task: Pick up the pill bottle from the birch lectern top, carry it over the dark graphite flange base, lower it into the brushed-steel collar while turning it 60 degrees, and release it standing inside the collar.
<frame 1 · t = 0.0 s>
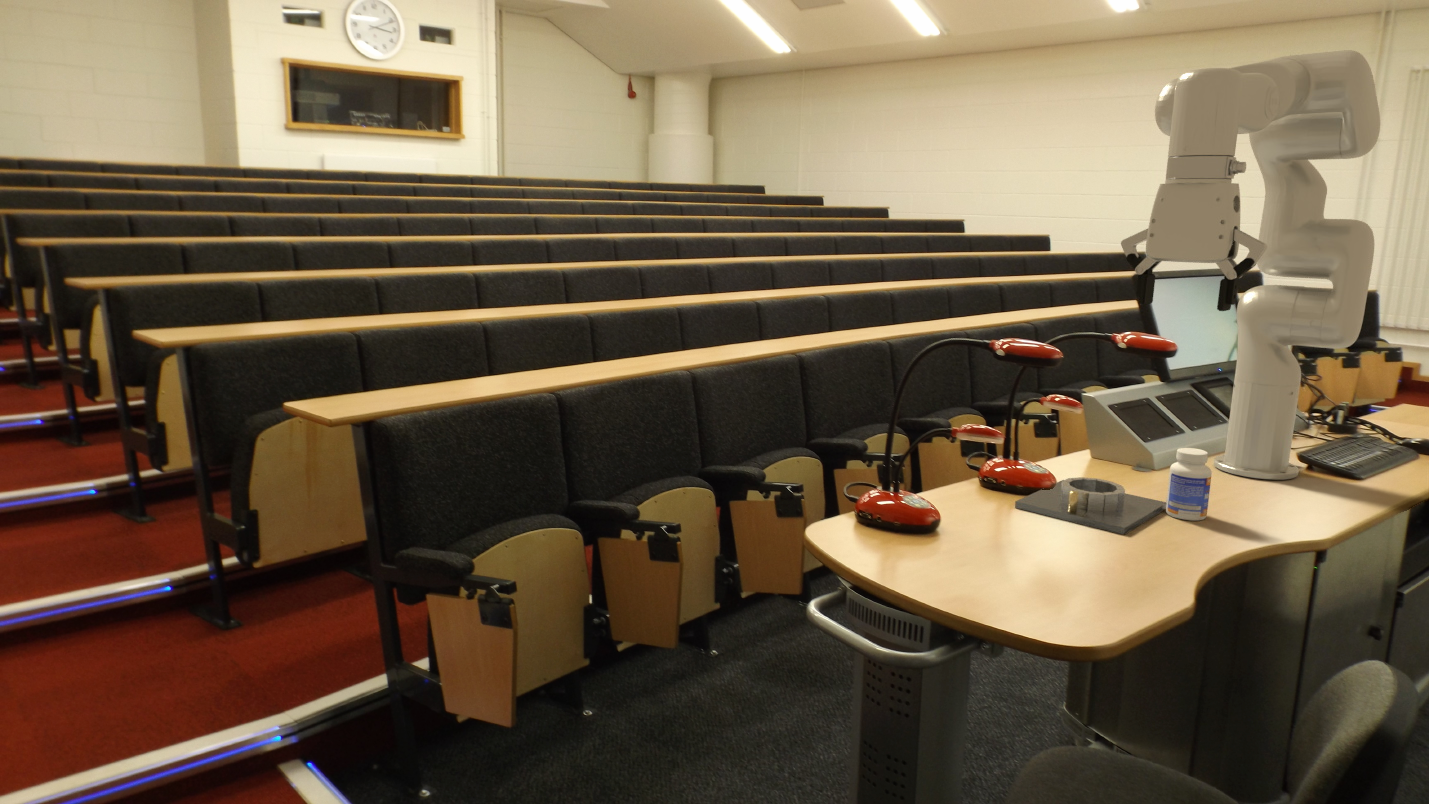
hand: (1183, 307, 120), 31 cm above the table, fingers open, 9 cm apart
flange base: (1090, 508, 136), on the table
pill bottle: (1185, 516, 134), on the table
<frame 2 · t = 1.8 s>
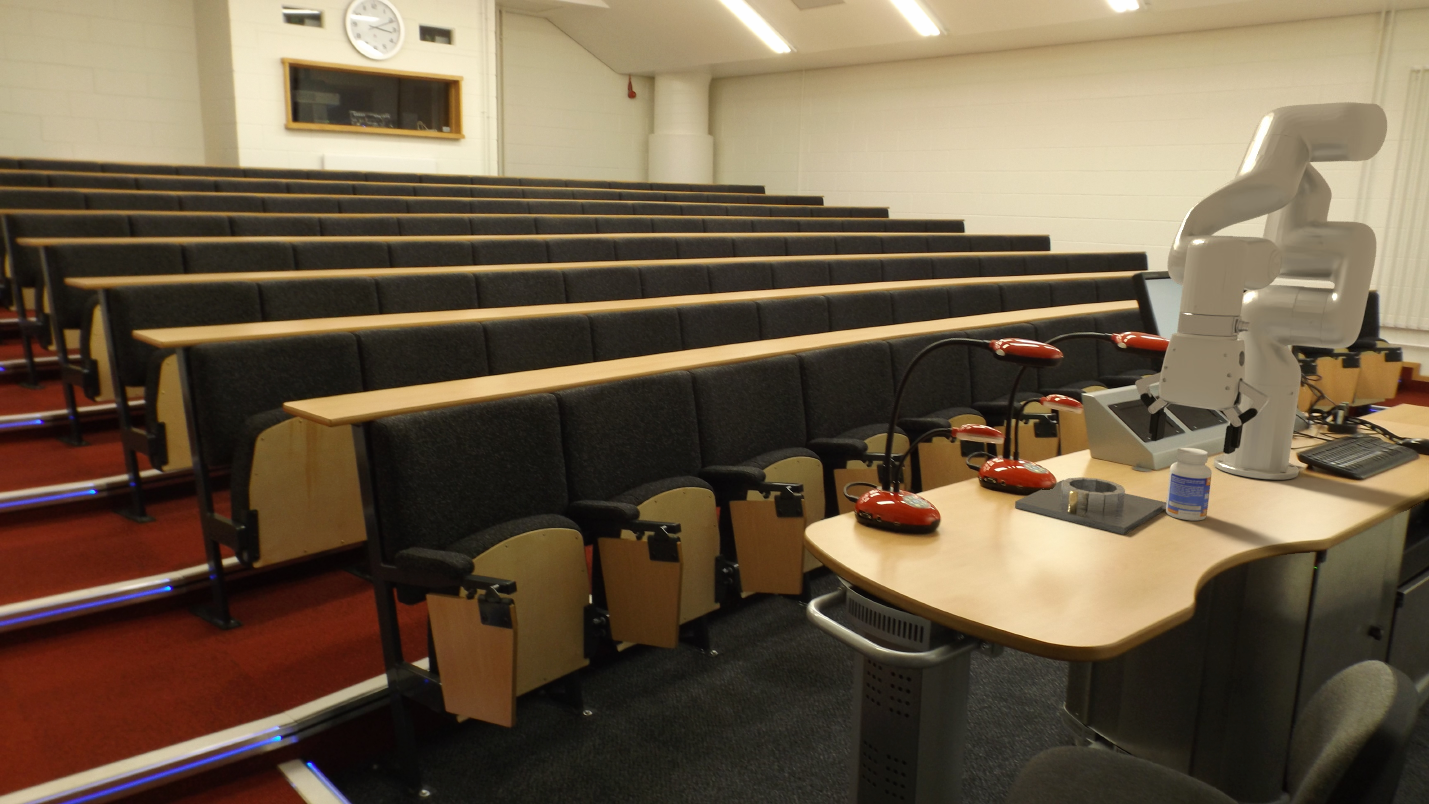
hand: (1192, 445, 131), 11 cm above the table, fingers open, 9 cm apart
nothing on the table moved.
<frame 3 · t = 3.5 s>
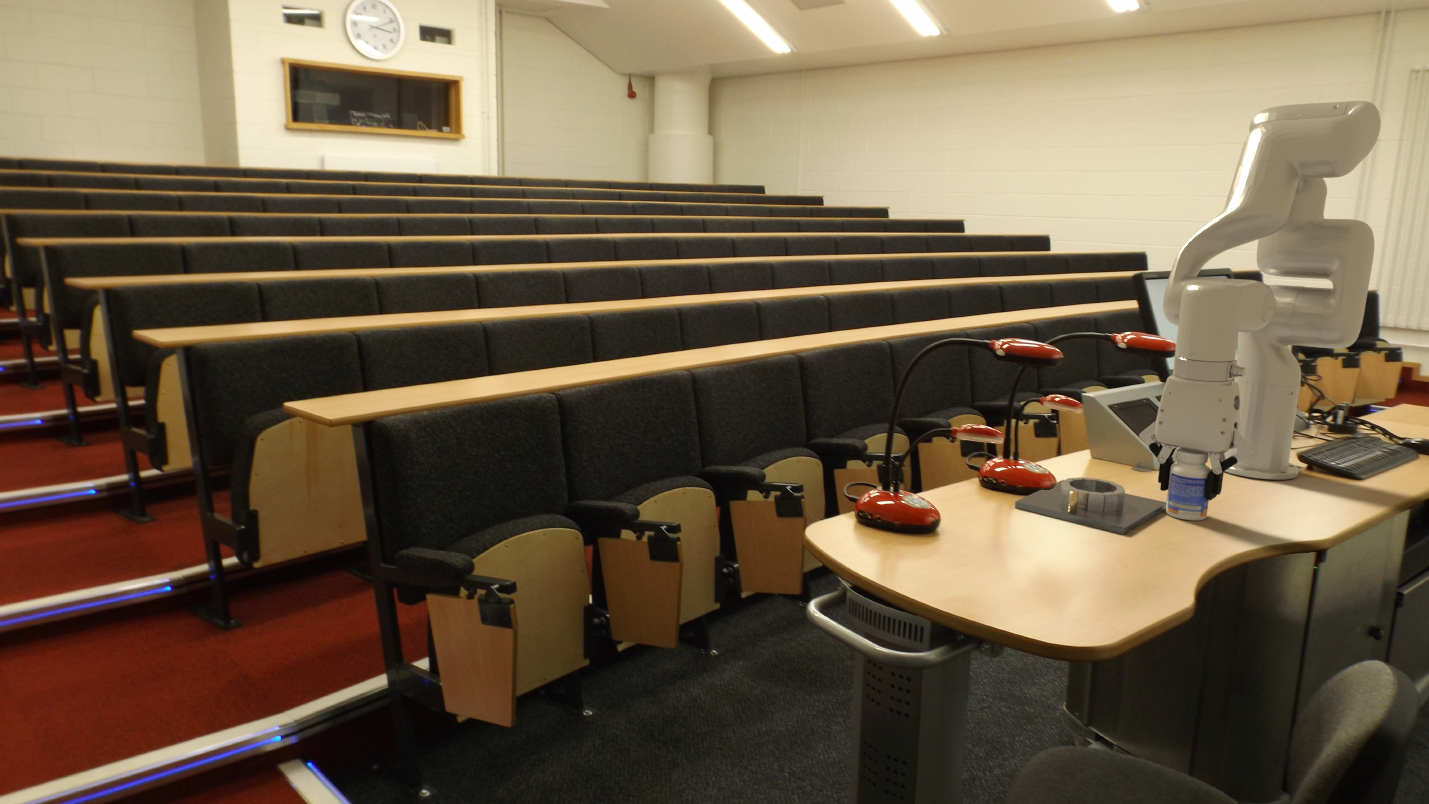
hand: (1188, 492, 133), 4 cm above the table, fingers closed on pill bottle, 5 cm apart
pill bottle: (1185, 516, 134), on the table, touching gripper
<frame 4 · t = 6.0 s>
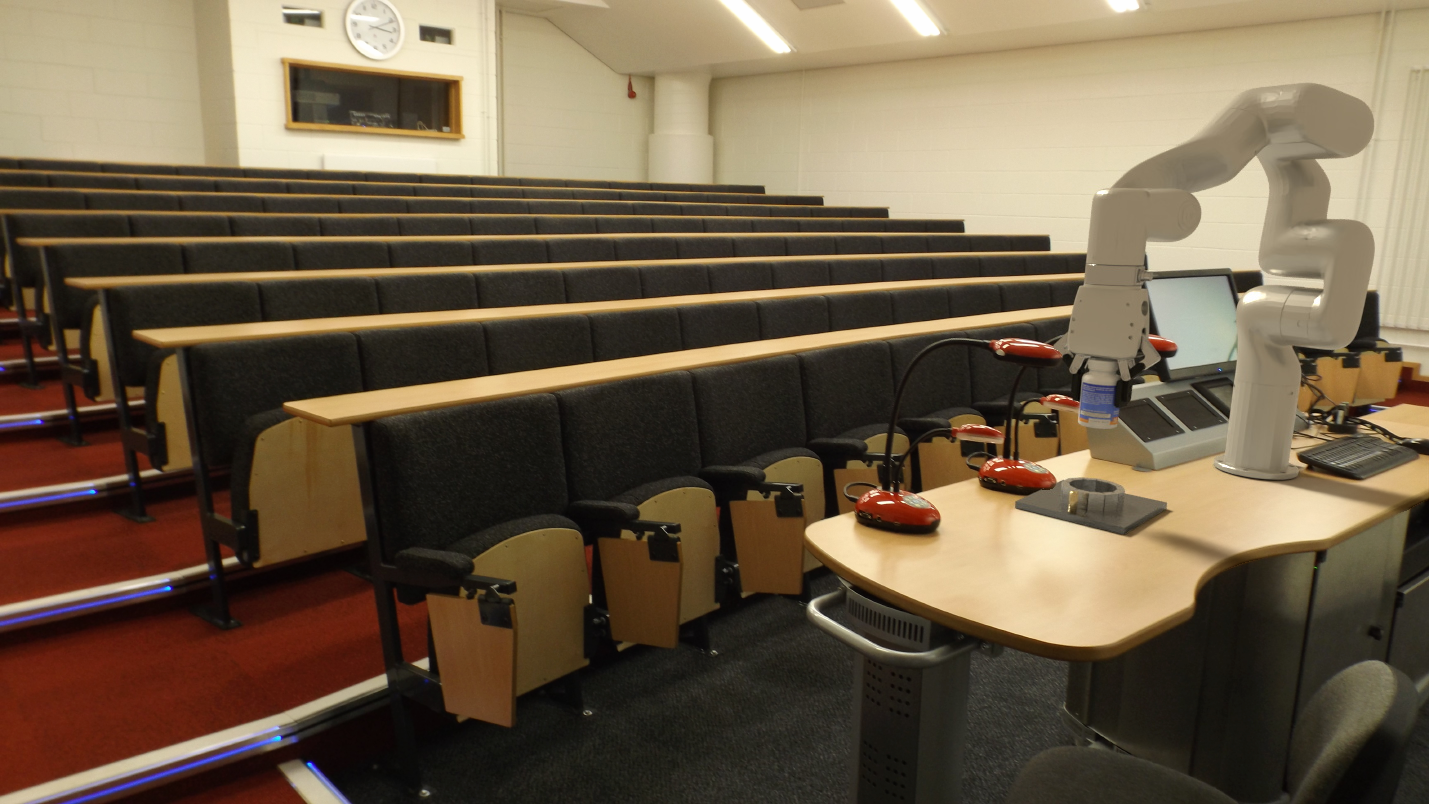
hand: (1099, 401, 133), 16 cm above the table, fingers closed on pill bottle, 5 cm apart
pill bottle: (1096, 426, 134), point 13 cm above the table, touching gripper
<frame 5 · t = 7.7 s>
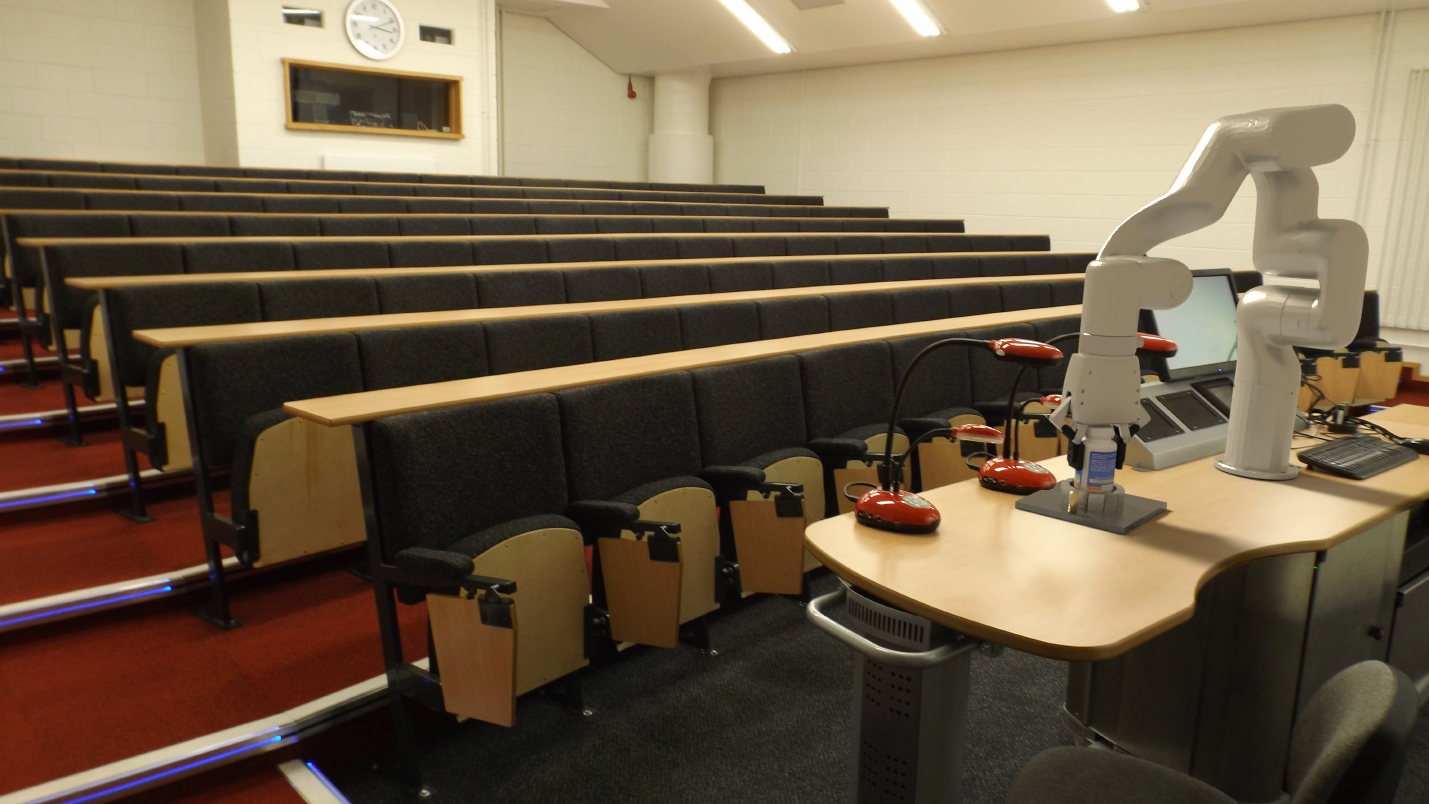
hand: (1094, 466, 135), 6 cm above the table, fingers closed on pill bottle, 5 cm apart
pill bottle: (1092, 490, 136), point 3 cm above the table, touching gripper
when the fingers open (5 cm above the table, at t = 8.9 s): pill bottle stays where it is, resting on flange base.
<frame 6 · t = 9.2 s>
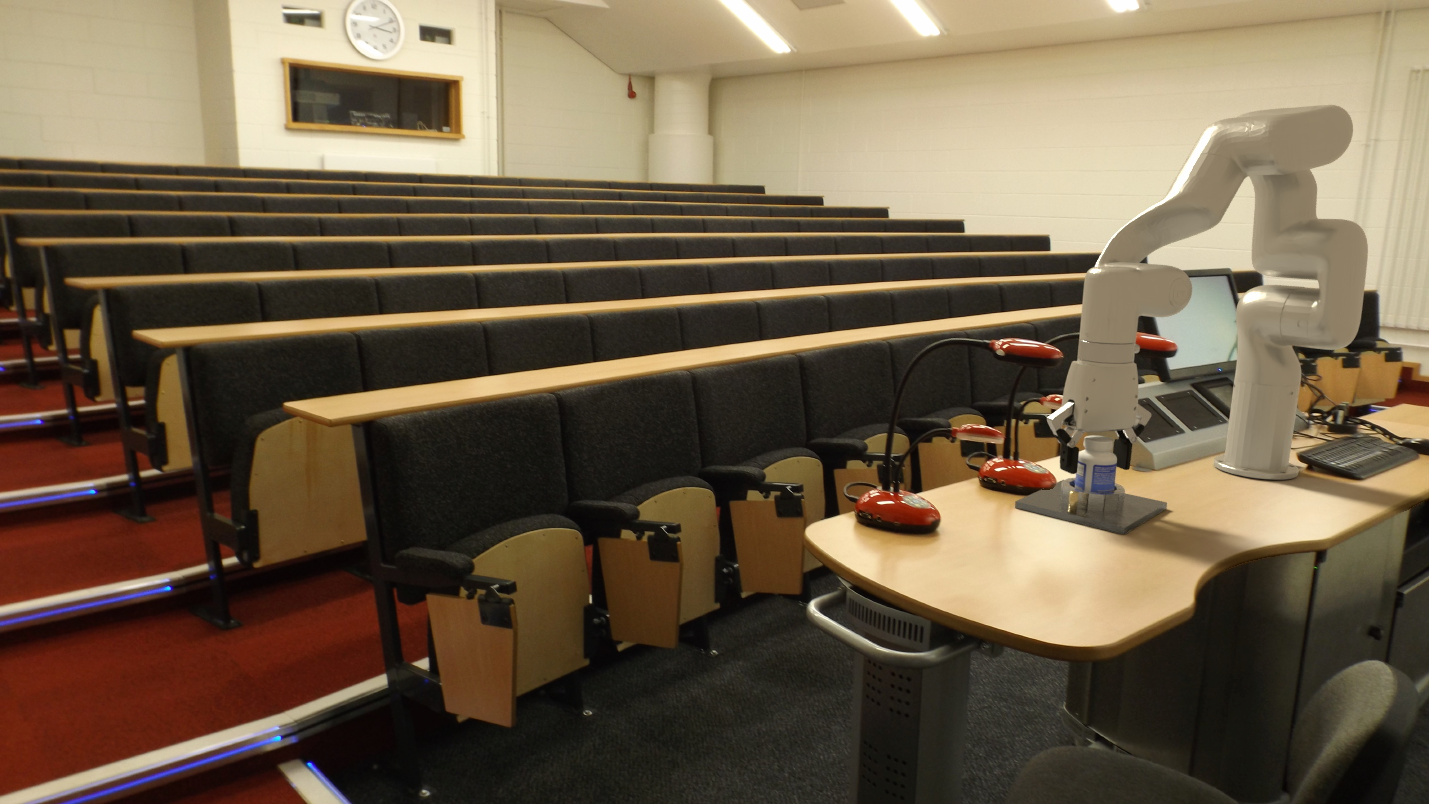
hand: (1094, 469, 135), 6 cm above the table, fingers open, 8 cm apart
pill bottle: (1092, 503, 136), point 1 cm above the table, touching flange base
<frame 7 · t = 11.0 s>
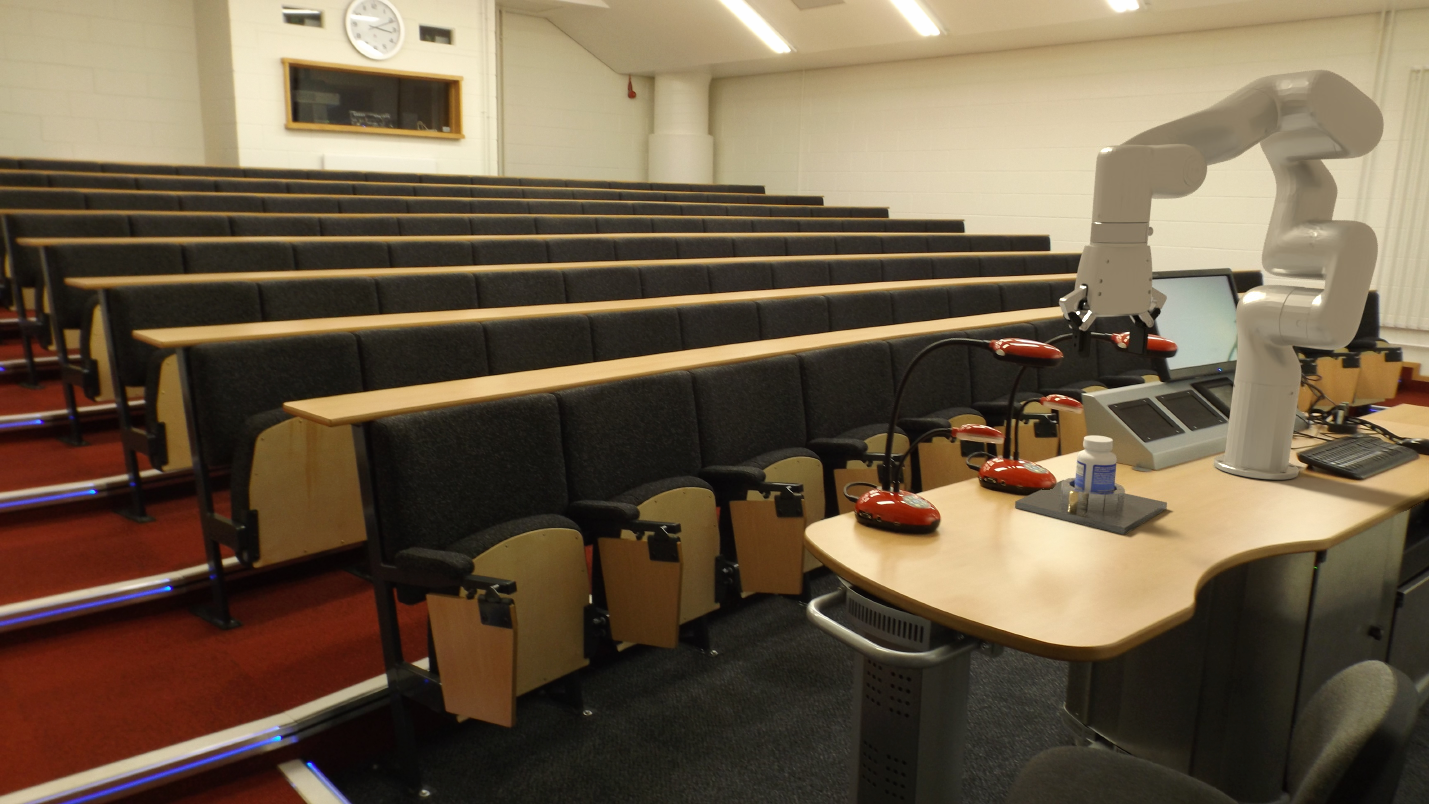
hand: (1108, 355, 133), 23 cm above the table, fingers open, 9 cm apart
nothing on the table moved.
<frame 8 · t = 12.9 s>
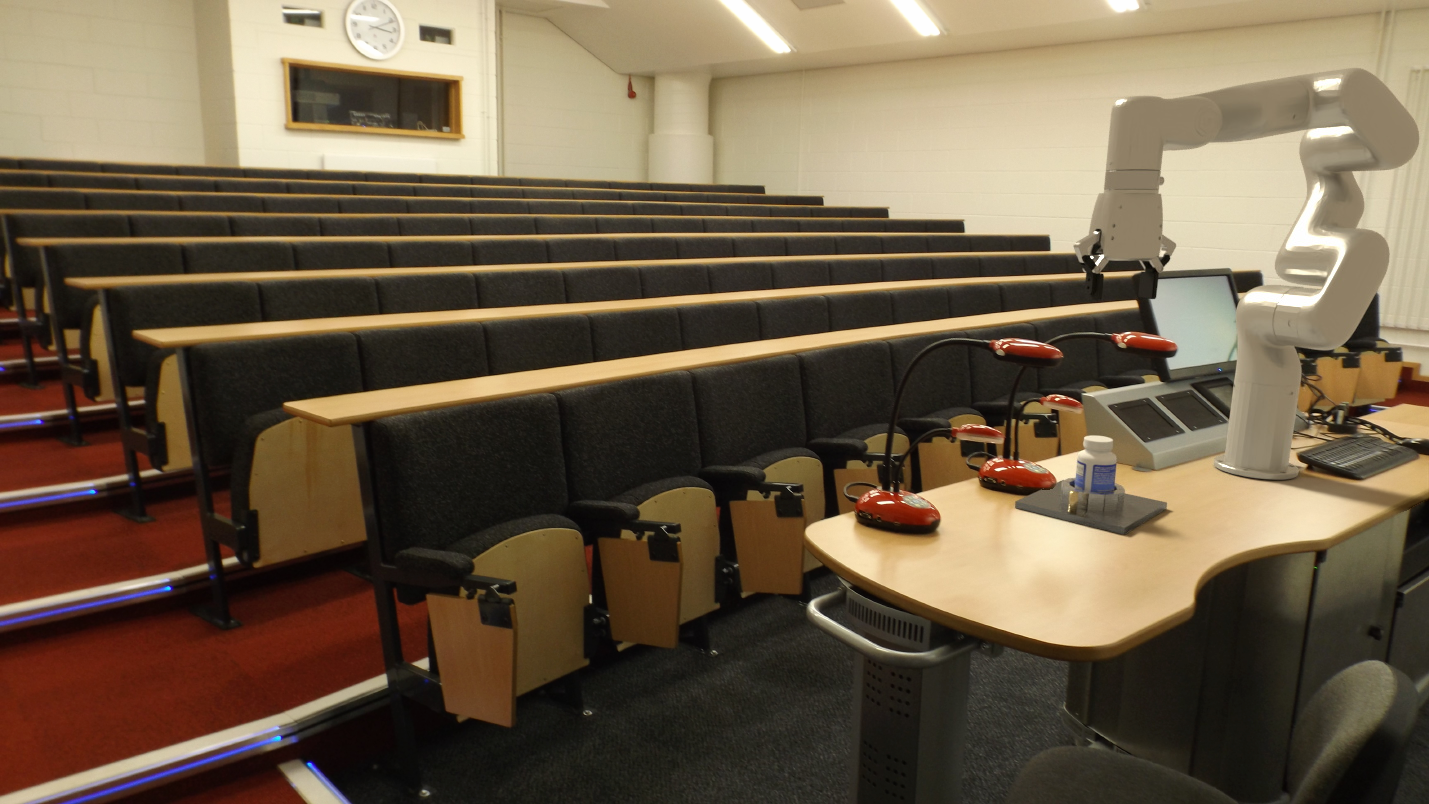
hand: (1120, 298, 140), 30 cm above the table, fingers open, 9 cm apart
nothing on the table moved.
at the end: pill bottle 0.3 cm from the flange base (horizontally); pill bottle point 0.8 cm above the table; pill bottle tilted 0° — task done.
